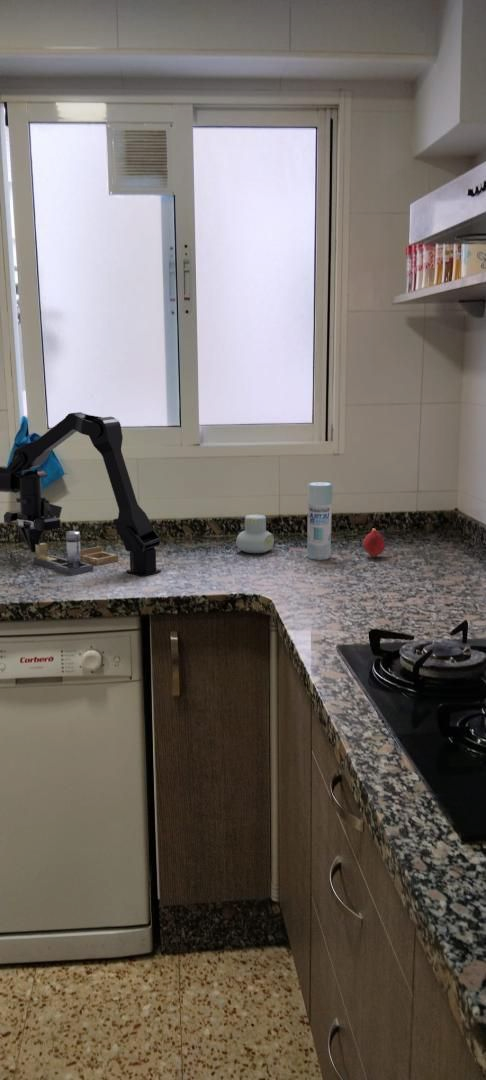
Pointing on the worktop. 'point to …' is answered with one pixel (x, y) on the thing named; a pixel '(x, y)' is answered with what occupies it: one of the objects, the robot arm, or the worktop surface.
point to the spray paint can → (319, 520)
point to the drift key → (43, 552)
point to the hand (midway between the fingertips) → (33, 551)
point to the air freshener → (255, 535)
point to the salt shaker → (73, 549)
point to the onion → (374, 543)
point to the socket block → (63, 565)
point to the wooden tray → (97, 556)
